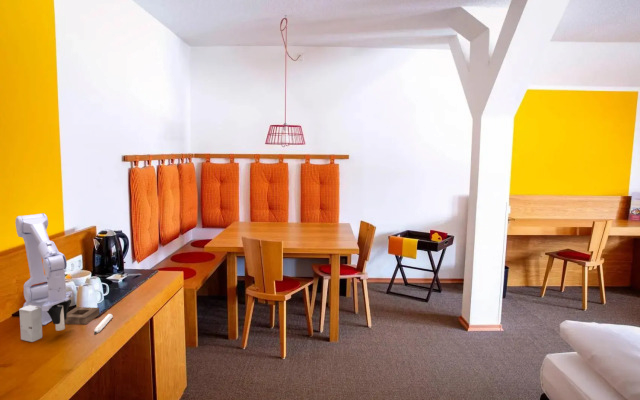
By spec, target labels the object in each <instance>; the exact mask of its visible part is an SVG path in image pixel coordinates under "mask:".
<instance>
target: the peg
mask: <svg viewBox="0 0 640 400" xmlns="http://www.w3.org/2000/svg"><path fill="white" fill-rule="evenodd" d="M57 306H61V307H62V309H61V314H60V323H59V324H54V326H55V331H57V332H58V331H59V332H60V331H63V330H65V329H66V324H65V323H64V310H63V305H57Z"/></svg>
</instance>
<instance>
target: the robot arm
mask: <svg viewBox="0 0 640 400" xmlns="http://www.w3.org/2000/svg"><path fill="white" fill-rule="evenodd" d="M48 226H49V220H48V216H47V214H45V212H44V213H43V212H42V213H36V214H28V215H27V214H26V215H18V216H16V218H15V229H16V234H17V237H20V238H22V239H23V242H24V246H25V252H26V258H27V263H28V264H27V265H28V269H29V277H30V278H28V279H27V281H25V282H24V284H23V296H24V300H25V302H24V303H23V306H22V308H23V307H25V306H28V305H32V306H37V307H41V318H42V326H46V325H47V324H50V322H52V324H53V325H55V324H59V323H60V314H61V309H62V307H61V306H57V305H63V310H64V320H66V316H67V313H68V312H69V308H70V306H71V304H72V300H71V299H70V298H72V297H73V296H74V295H73V291H67V286H66V274H65V270H66V269H67V266H68V264H67V263H68V262H67V258H66V256H65V254H64V253H62V252H60V251H59V249H58V247H57V245H56V244H55V242H54V241H53V240H50V237H49V235H48V231H47V229H48Z"/></svg>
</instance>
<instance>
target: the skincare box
mask: <svg viewBox="0 0 640 400" xmlns="http://www.w3.org/2000/svg"><path fill="white" fill-rule="evenodd" d="M18 311H19V326H20V327H19V328H20V340H21V341H26V342H30V343H33V342H36V341H39V340H40V339H43V325H42V318H41V307H37V306H32V305H28V306H25V307H23V306H22V307H21V308H19V310H18Z"/></svg>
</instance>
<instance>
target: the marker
mask: <svg viewBox="0 0 640 400" xmlns="http://www.w3.org/2000/svg"><path fill="white" fill-rule="evenodd" d="M113 317H114V316H113V314H112V313H108V314H107V315H105V317H104V318H103V319H102V320H101V321H100V322H99V324H97V326H96V327H95V328H94V329H93V331H94V334H98V333H100V332H101V331H103V330H104V328H105V327H106V325H108V323H109V322H110V321H111V320H112V319H113Z"/></svg>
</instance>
